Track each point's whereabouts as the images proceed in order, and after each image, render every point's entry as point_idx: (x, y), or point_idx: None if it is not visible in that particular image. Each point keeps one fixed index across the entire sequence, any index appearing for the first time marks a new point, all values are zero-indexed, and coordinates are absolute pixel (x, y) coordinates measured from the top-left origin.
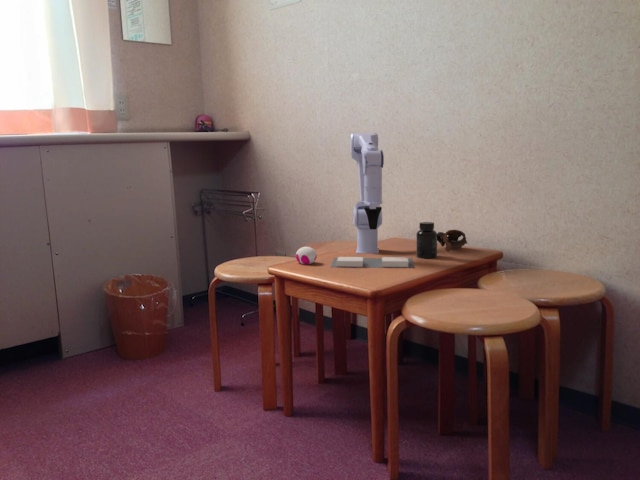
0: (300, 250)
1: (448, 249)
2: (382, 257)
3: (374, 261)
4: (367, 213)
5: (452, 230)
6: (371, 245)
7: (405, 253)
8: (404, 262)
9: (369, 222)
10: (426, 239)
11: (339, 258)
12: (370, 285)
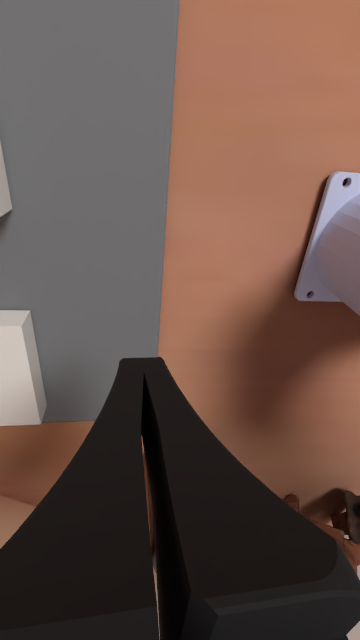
0: None
1: (287, 503)
2: (10, 328)
3: (69, 274)
4: (18, 541)
5: None
6: (335, 281)
7: (286, 395)
8: None
9: (104, 411)
10: (151, 534)
11: None
12: None
